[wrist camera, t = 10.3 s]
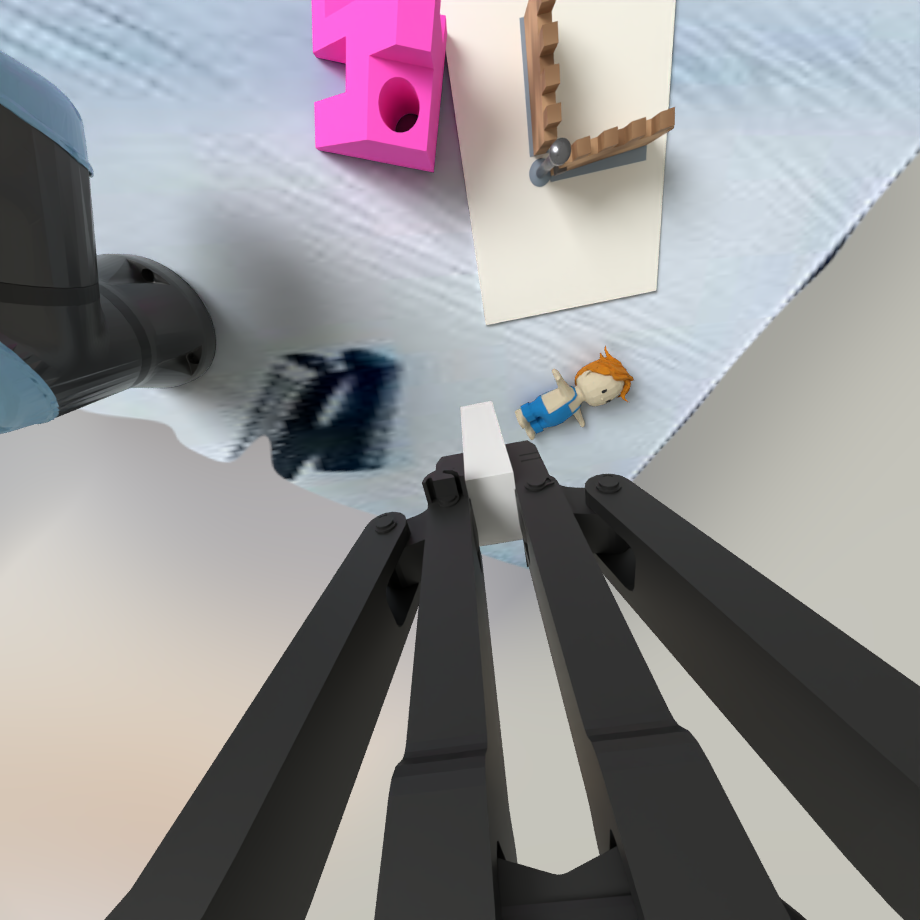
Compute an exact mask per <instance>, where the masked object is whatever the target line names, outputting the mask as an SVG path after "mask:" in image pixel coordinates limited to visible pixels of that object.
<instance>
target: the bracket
mask: <svg viewBox="0 0 920 920" xmlns="http://www.w3.org/2000/svg"><path fill="white" fill-rule="evenodd" d="M440 7H441V0H312V30H313V53H314V55H315V56H316V57H317V58H321V59H326V60H331V61H335V62H340V63H345V64H346V92H345V93H342V94H339V95H336V96H333V97H330V98H327V99H323V100H320V101H317V102H314V105H315V142H316V148H317V149H318V150H320V151H326V152H331V153H336V154H341V155H346V156H351V157H357V158H362V159H367V160H372V161H377V162H382V163H387V164H393V165H398V166H403V167H408V168H413V169H418V170H424V171H429V172H434V164H435V154H436V144H437V133H438V123H439V113H440V102H441V92H442V82H443V71H444V61H445V51H446V41H447V24H446V16H445V15H441V14H440ZM406 114H415V115H418V119H417V121H416V123H415V125H414V126H413V127H412V128H411V129H410V130H409V131H406V132H403V133H397V132H395V129H396V125H397V123H398V121H399V120H400V118H401V117H403V116H404V115H406Z"/></svg>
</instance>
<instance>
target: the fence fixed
mask: <svg viewBox="0 0 920 920" xmlns="http://www.w3.org/2000/svg"><path fill="white" fill-rule="evenodd" d="M555 2H556V0H529V1H528V4H527V8H526V11H525V15H524V26H525V40H526V54H527V68H528V82H529V96H530V110H531V124H532V139H533V153H534V156H536V155H540V154H545V153H546V152H547V151H548V149H549V148H550V147H551V145H552V144H553V143H554V141H555V140H557V126H558V125H559V124H560V122H561V121H562V114H561V102H560V103H556V94H555V91H556V89H557V88H558V86H559V84H560V64H559V63H558V64H554V51H555V49H556V47H557V45H558V43H559V39H558V21H555V22H552V10H553V7H554V4H555Z"/></svg>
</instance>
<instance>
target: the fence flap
mask: <svg viewBox="0 0 920 920" xmlns="http://www.w3.org/2000/svg"><path fill="white" fill-rule="evenodd" d="M674 125H675V107H673V108H670V109H668V110H665V111H662V112H660V113H658V114H657V115H656V116H654V117H653V118H651V119H649V120H646V117H644V118H641V119H638V120H635V121H632V122H631V123H629V124H628V125H627V126H626V127H624V128H622V129H619V130H618V126H617V127H614V128H611V129H608V130H605V131H603V132H602V133H601V134H600V135H599V136H598V137H595V138H592V139H590V136H587V137H584V138H581V139H578V140H576V141H575V142H574V143H573V144H572V145H571V155H570V157H569V159H568V160H567V161H566V162H565V163H564V164H563V165H561V166H554V167H553V168H552V169H551V170H550V171H551V176H553V175H554V176H556V175H560V174H563V173H565V172H566V171H568V170H572V169H575V168H578V167H581V166H584V165H587V164H590V163H593V162H596V161H599V160H602V159H605V158H608V157H611V156H614V155H617V154H621V153H624V152H627V151H630V150H633V149H636V148H639V147H642V146H645V145H648V144H649V143H651V142H653V141H654V140H656V139H657V138H659V137H661V136H662V135H664V134H665V133H667V132H669V131H670V130H672V129H673V128H674Z"/></svg>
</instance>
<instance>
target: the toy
mask: <svg viewBox="0 0 920 920" xmlns="http://www.w3.org/2000/svg"><path fill="white" fill-rule="evenodd" d="M604 350H605V353H606V356H607V357H606V358H604V357H603V355H602V354H601V353H600V359H599V360H597V361H594V362H592V363H590V364H588V365H586V366H584V367H583V368H582V369H581V370H579V371H578V373H577V375H576V377H575V385H576V387H572V386H569V385H568V384H567V383H566V382H565V381H564V379H563V378H562V376H561V375H560V373H559V371H557V370H556V369H553V370H552V373H553V375H554V377H555V379H556V382H557V385H558V388H557V389H555V390H552V391H549V392H546V393H545V394H543V395H540V396H539V397H538V398H537V399H536V400H535V401H533V402H531V403H529V402H528V403H526V404H524V405H522V406H521V408H520V409H518V410H516V411H515V414H516V417H517V420H518V422H519V424H520V426H521V427H522V428H523V429H524V428H525V430H526V433H527V435H528V436H529V438H530V439H531V440H533V439H534V438H535V433H536V434H537V433H539V432H542V431H543V428H547V427H552V426H556V425H558V424H561V423H563V422H564V421H565V420H567V419H568V418H569V417H570V416H572V415H574V416H575V418H576V419H577V420H578V422H579V424H580V425H581V427H584V425H585V422H584V419H583V417H582V414H581V410H580V406H581V403H582V402H583V401H586V402H587V403H588V404H589V405H591V406H594V407H595V406H599V405H603V404H605V403H607V402H610V401H611V400H613V399H614V398H615V397H616V396H618V395H619V394H620V393H621V394H620V395H619V396H618V397H622V399H623V400H625V401H627V400H626V399H625V395H626V394H627V393H628V391H629V389H630V386H631V381H633V380H634V379H633V377H632V376H630V375H629V373H628V372H627V371H626V369H625V368H624V367H623V366H622V364H621V362H619V361H618V360H617V359H615V358H613V357H612V356H611V355H610V354H609V353H608V351H607V350H606V346H605V349H604ZM627 402H628V401H627Z"/></svg>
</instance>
